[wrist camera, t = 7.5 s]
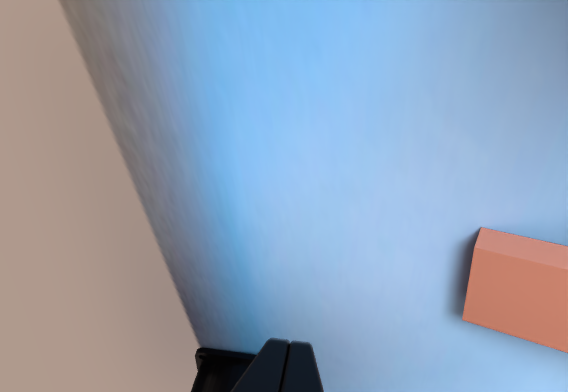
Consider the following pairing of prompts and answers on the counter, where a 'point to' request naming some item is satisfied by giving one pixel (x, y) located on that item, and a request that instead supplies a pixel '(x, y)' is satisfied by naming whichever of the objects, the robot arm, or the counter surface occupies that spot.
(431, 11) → the counter surface
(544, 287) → the domino
